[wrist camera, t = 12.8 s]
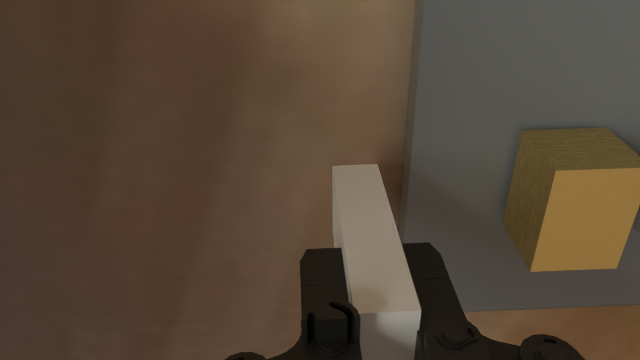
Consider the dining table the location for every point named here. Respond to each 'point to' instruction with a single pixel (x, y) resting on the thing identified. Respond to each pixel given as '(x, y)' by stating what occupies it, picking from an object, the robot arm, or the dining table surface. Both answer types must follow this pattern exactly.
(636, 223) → the tongs fixed
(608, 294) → the board
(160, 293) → the dining table surface
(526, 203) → the tab
